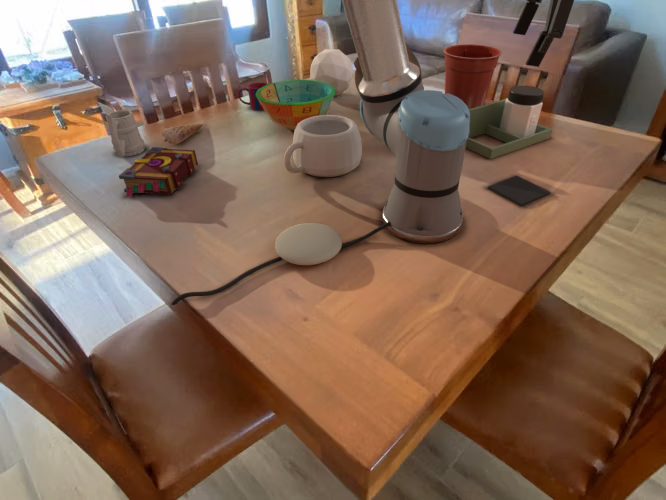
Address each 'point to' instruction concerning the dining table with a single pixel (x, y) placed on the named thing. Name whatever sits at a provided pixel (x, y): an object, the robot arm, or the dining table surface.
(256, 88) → the cup
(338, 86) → the geometric sphere
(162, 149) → the decorative book
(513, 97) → the jar
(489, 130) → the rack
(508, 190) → the mat
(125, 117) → the mug
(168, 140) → the seashell
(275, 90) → the bowl
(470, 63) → the flower pot
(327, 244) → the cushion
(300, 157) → the mug
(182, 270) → the dining table surface
